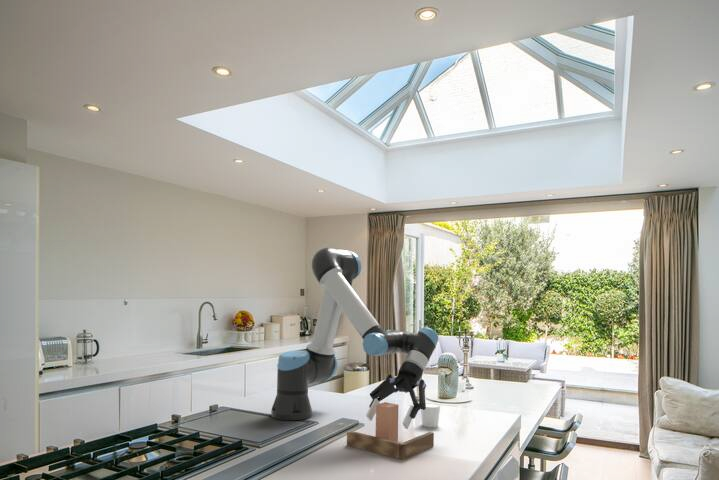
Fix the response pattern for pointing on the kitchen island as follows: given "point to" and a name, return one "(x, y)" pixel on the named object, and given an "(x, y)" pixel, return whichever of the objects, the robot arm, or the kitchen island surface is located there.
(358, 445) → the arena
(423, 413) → the white cup
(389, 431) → the block
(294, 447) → the kitchen island surface
